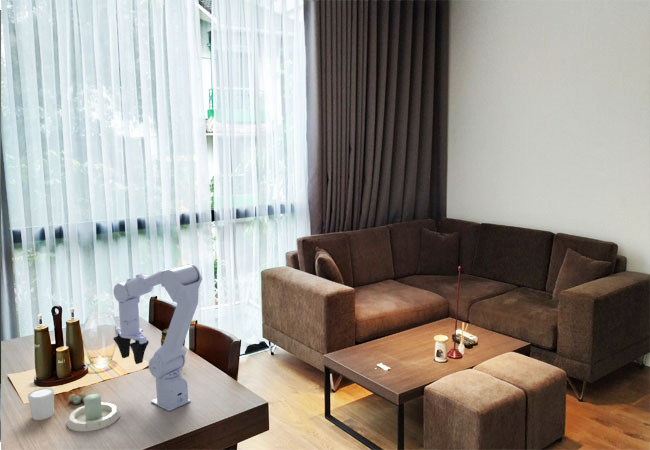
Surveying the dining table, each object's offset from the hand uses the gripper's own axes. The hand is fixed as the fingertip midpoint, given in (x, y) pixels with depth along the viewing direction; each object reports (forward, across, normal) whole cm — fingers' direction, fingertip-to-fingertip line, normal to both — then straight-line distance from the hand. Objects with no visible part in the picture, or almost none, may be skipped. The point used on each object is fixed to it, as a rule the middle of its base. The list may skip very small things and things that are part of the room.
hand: (132, 360), depth 177 cm
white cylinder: (+10, +6, +26) cm, 29 cm away
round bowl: (+10, -8, +18) cm, 22 cm away
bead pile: (+10, +5, +15) cm, 19 cm away
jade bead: (+9, -8, +18) cm, 22 cm away
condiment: (+10, +10, -20) cm, 25 cm away
